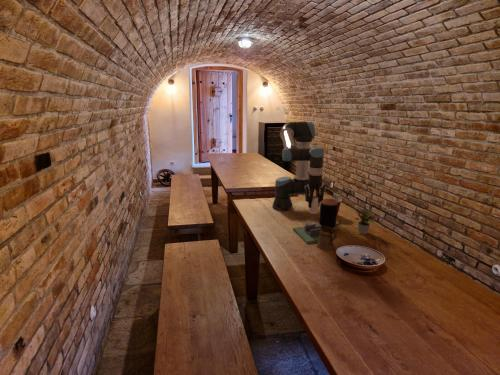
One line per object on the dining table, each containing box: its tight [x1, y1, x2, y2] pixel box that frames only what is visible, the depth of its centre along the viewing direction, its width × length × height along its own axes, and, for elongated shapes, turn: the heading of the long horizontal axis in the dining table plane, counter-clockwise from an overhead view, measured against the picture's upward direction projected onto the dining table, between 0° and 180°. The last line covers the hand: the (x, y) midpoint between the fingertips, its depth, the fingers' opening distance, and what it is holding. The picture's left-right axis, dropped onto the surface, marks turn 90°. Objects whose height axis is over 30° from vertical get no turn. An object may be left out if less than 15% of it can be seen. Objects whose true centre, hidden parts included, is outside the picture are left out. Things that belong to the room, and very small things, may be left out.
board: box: [292, 221, 321, 245], centre depth 193 cm, size 20×16×6 cm
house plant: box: [354, 207, 377, 235], centre depth 194 cm, size 14×14×16 cm
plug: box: [311, 194, 319, 215], centre depth 188 cm, size 5×3×10 cm, turn 17°
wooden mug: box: [316, 220, 343, 250], centre depth 175 cm, size 9×14×18 cm, turn 44°
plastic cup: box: [328, 197, 343, 216], centre depth 223 cm, size 11×11×12 cm
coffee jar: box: [318, 198, 338, 228], centre depth 202 cm, size 11×11×18 cm
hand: (313, 212), depth 188 cm, fingers closed on plug, 3 cm apart
